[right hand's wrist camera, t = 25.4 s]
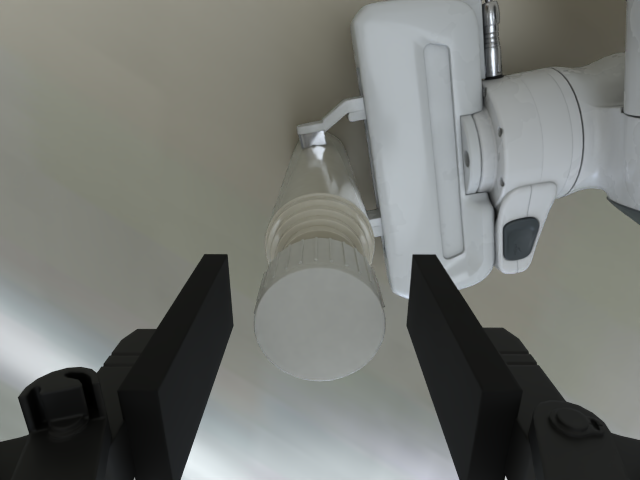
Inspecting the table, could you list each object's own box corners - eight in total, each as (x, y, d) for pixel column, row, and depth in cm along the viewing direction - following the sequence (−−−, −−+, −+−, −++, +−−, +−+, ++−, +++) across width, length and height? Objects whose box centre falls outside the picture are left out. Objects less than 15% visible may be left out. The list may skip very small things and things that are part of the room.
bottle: (346, 130, 36) (397, 238, 12) (347, 185, 38) (394, 372, 14) (290, 132, 36) (235, 244, 12) (294, 187, 38) (251, 376, 14)
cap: (347, 215, 14) (352, 242, 12) (395, 311, 15) (408, 353, 13) (241, 265, 14) (226, 300, 12) (295, 353, 16) (291, 400, 13)
